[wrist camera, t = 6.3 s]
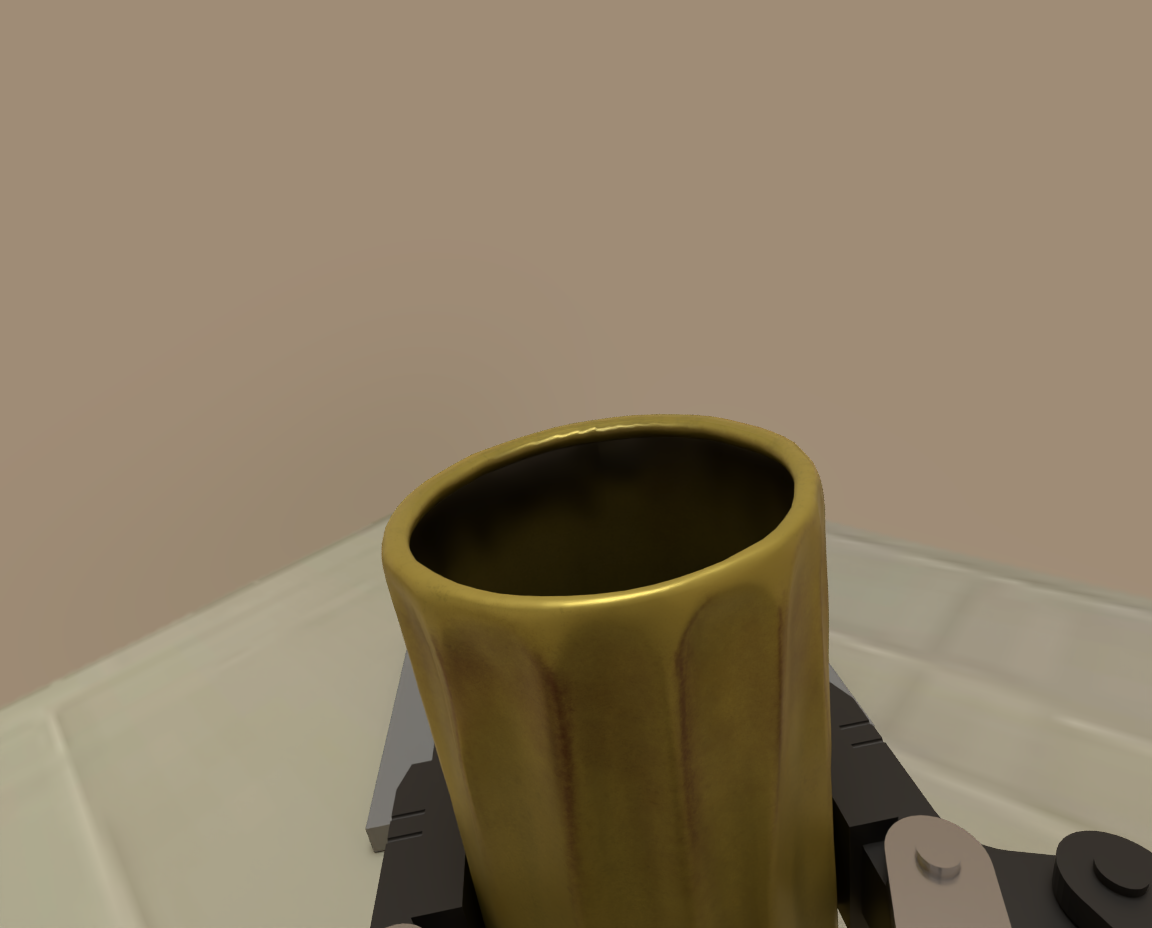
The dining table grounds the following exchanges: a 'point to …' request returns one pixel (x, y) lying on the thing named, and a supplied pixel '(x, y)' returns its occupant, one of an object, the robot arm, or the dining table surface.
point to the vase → (628, 672)
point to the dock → (421, 750)
